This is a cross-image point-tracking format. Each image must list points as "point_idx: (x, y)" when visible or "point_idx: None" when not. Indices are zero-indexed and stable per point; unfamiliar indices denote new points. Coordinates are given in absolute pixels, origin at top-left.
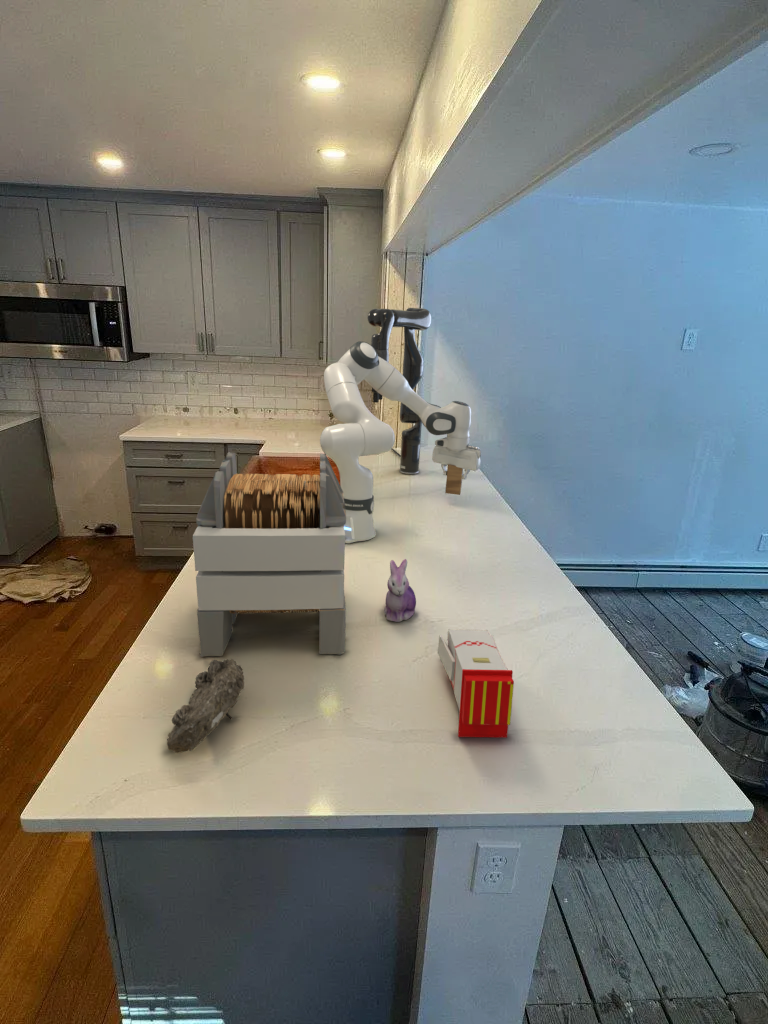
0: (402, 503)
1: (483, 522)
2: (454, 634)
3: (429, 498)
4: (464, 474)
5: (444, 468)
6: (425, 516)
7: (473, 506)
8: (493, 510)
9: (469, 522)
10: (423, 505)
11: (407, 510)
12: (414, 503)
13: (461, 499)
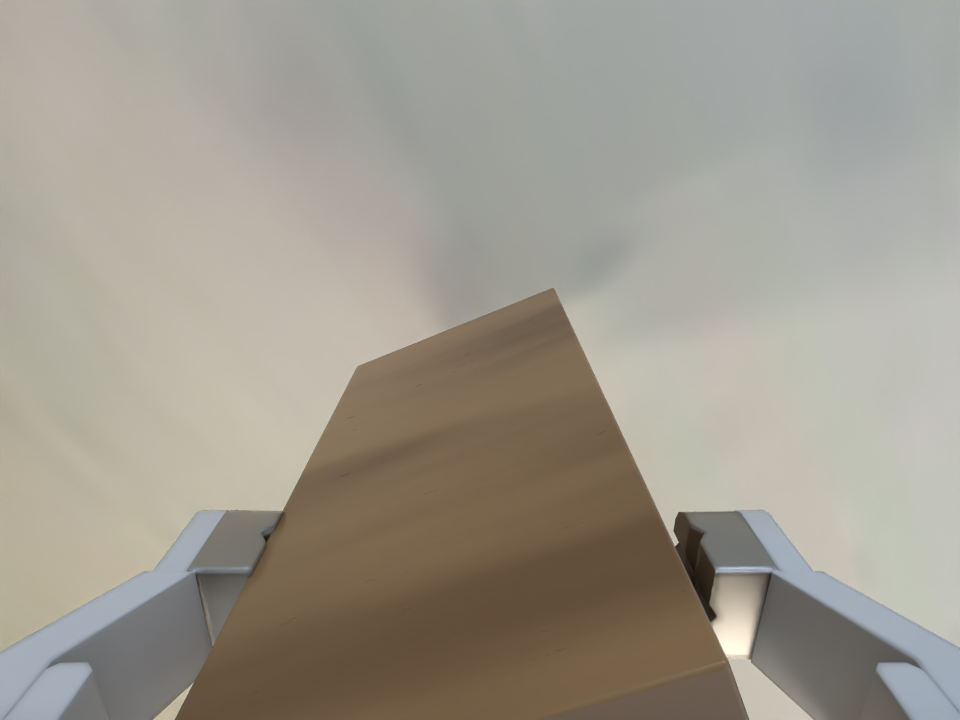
0: (114, 578)
1: (912, 524)
2: None
3: (159, 291)
4: (793, 686)
5: (146, 689)
6: None
7: (688, 185)
8: (943, 148)
9: None
10: (274, 506)
11: None
12: (180, 515)
13: (449, 32)
